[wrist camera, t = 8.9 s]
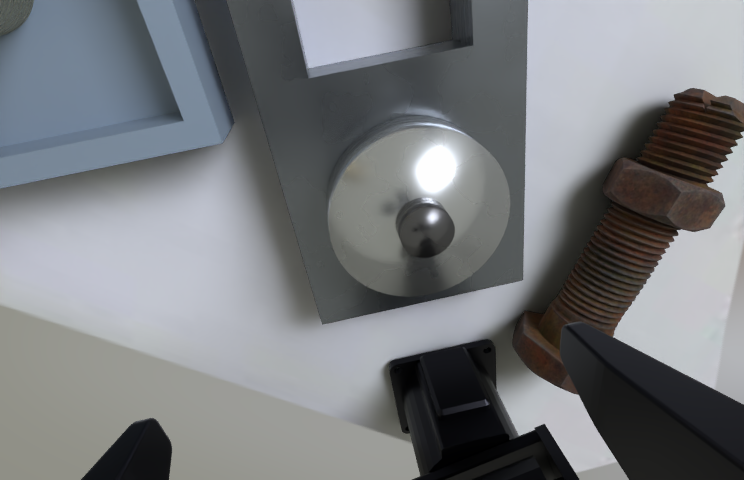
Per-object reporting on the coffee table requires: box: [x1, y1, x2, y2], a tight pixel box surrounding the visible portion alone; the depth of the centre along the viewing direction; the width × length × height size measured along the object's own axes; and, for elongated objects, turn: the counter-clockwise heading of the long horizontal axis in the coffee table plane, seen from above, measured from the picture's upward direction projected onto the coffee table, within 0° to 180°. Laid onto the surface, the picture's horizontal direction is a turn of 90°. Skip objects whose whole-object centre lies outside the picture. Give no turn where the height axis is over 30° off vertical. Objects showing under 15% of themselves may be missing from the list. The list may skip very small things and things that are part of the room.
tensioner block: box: [226, 0, 528, 325], centre depth 16 cm, size 18×10×6 cm, turn 10°
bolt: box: [513, 88, 744, 395], centre depth 21 cm, size 6×5×15 cm
